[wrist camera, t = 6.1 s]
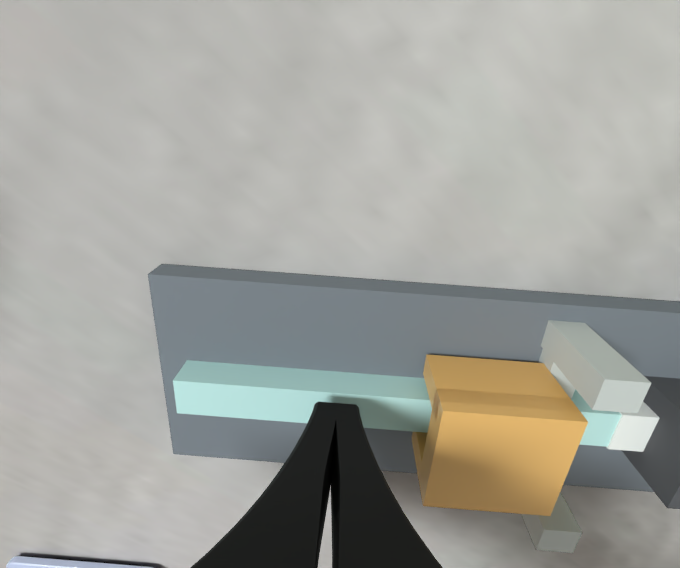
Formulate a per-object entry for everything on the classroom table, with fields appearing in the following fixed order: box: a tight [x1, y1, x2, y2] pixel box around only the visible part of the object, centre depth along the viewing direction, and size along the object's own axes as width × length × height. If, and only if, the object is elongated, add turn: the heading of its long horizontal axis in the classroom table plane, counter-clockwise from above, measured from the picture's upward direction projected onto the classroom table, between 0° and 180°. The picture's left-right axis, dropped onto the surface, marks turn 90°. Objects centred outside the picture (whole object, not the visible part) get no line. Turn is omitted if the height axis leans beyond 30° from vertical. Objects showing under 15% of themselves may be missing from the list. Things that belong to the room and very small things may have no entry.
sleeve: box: [412, 354, 588, 516], centre depth 13 cm, size 4×4×3 cm
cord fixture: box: [148, 264, 680, 553], centre depth 13 cm, size 8×20×4 cm, turn 86°
